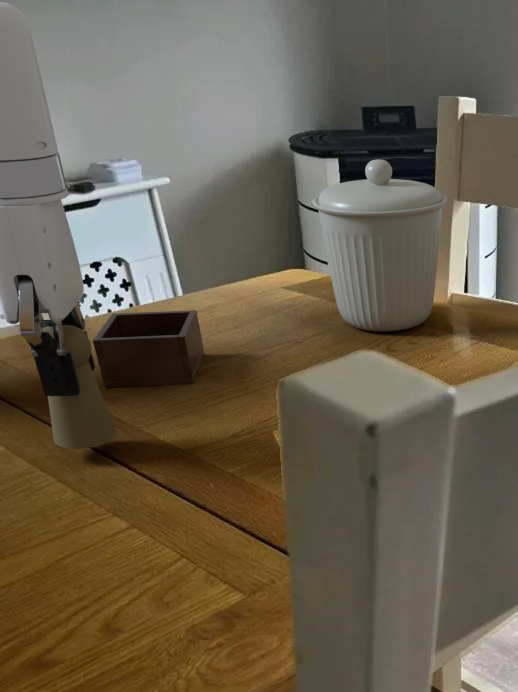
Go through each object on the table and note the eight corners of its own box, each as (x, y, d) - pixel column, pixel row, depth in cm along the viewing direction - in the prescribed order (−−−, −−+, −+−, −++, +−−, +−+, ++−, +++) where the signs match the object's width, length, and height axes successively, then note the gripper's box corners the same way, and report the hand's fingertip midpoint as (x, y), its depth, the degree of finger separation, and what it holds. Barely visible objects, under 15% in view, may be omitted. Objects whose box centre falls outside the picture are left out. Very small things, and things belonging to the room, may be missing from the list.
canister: (402, 350, 110) (395, 175, 98) (298, 328, 118) (279, 163, 106) (470, 314, 123) (472, 155, 110) (372, 297, 131) (363, 146, 118)
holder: (104, 387, 100) (92, 340, 97) (122, 357, 109) (112, 313, 105) (193, 383, 101) (184, 336, 98) (204, 354, 110) (196, 310, 106)
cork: (53, 428, 86) (23, 322, 80) (115, 420, 88) (90, 316, 81) (53, 452, 81) (21, 342, 75) (117, 444, 83) (91, 335, 77)
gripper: (3, 162, 77) (55, 353, 88) (-68, 199, 63) (3, 420, 74) (86, 162, 78) (128, 351, 88) (34, 198, 64) (90, 417, 75)
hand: (70, 380), depth 81 cm, fingers closed on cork, 5 cm apart
